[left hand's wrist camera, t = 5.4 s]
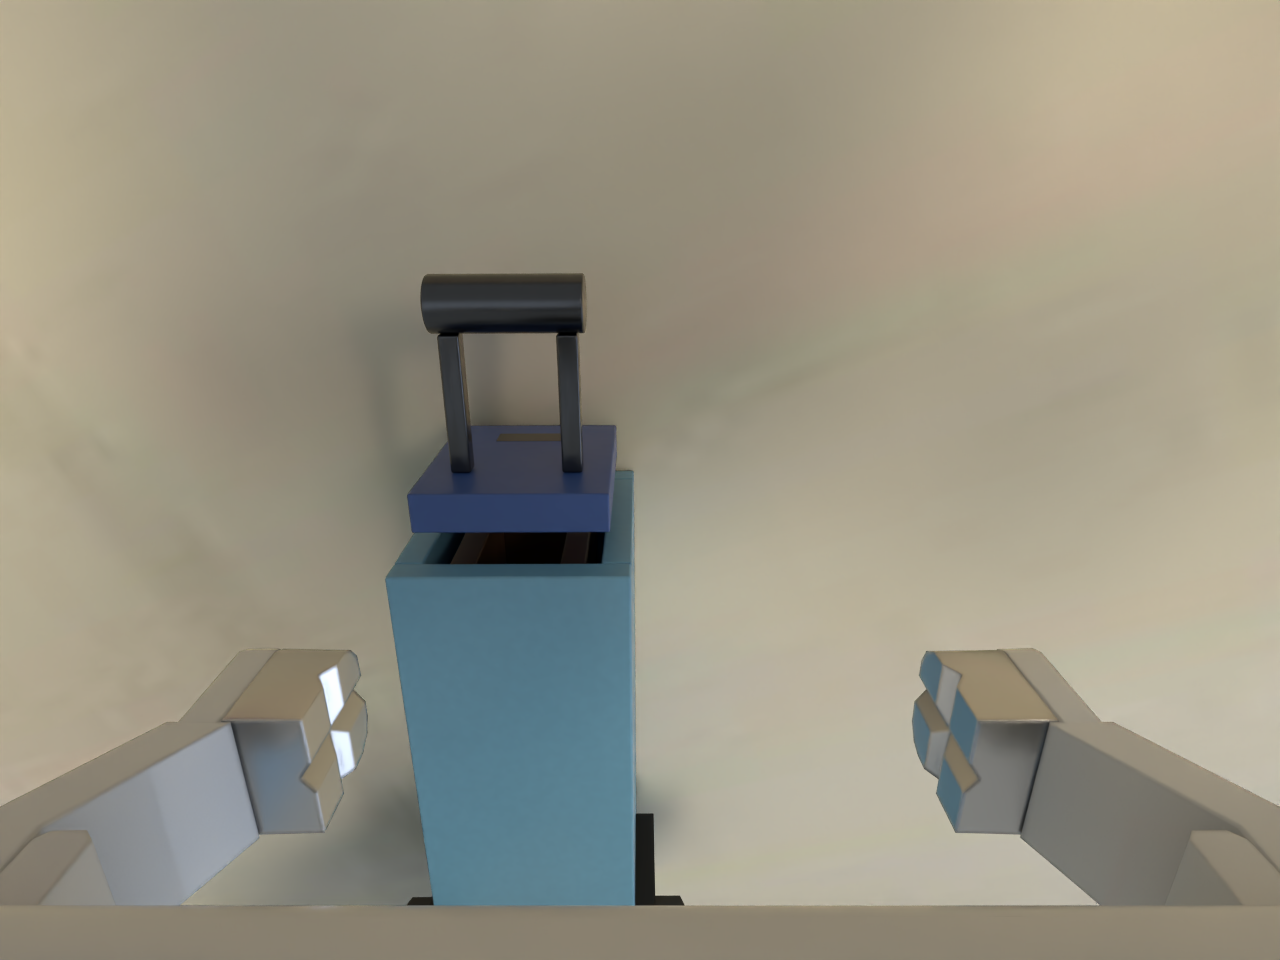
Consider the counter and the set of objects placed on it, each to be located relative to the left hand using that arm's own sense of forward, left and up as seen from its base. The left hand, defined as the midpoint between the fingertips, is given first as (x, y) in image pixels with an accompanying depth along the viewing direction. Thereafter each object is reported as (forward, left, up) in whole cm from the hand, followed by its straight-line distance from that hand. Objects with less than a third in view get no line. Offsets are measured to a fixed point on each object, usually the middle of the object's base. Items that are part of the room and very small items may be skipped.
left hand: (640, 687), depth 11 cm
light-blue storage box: (+14, -4, -17) cm, 22 cm away
